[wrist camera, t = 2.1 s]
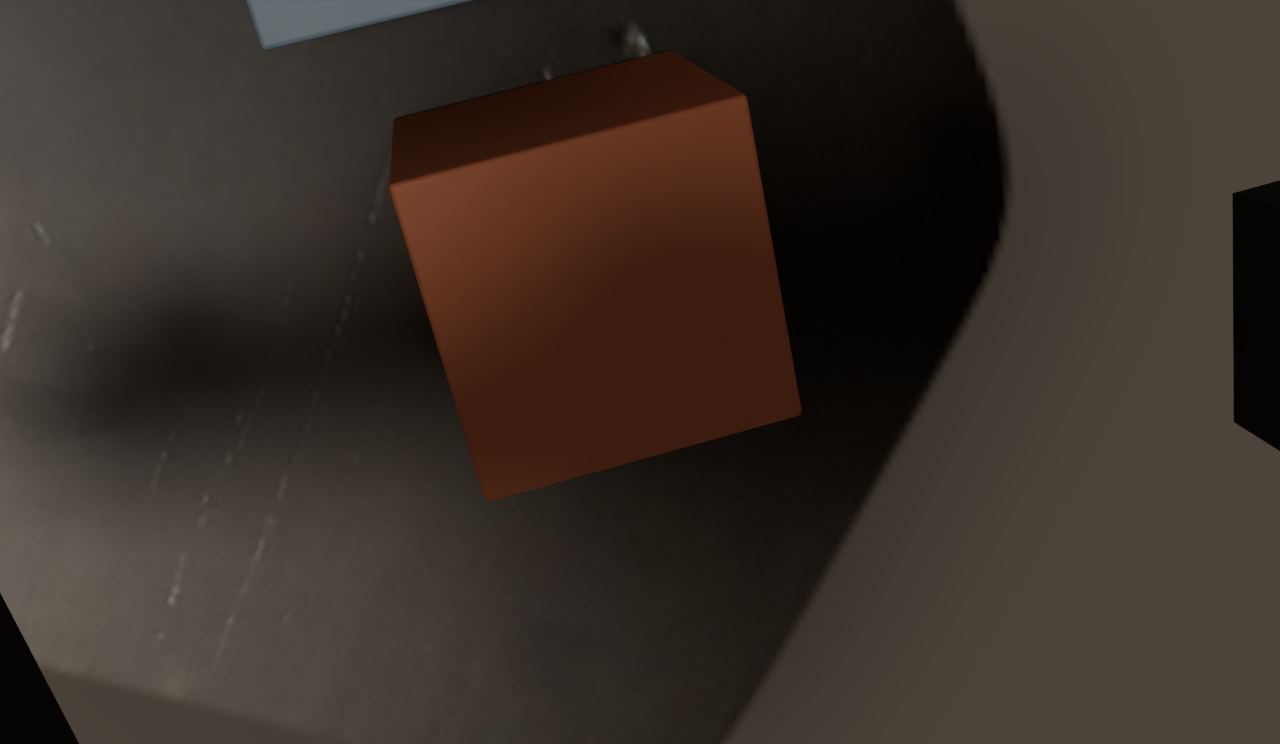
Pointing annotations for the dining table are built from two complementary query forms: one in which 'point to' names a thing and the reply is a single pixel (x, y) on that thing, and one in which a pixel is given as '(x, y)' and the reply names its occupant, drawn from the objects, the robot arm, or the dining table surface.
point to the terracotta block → (595, 268)
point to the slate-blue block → (327, 17)
